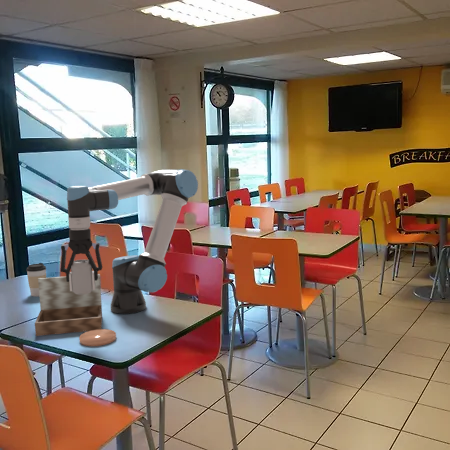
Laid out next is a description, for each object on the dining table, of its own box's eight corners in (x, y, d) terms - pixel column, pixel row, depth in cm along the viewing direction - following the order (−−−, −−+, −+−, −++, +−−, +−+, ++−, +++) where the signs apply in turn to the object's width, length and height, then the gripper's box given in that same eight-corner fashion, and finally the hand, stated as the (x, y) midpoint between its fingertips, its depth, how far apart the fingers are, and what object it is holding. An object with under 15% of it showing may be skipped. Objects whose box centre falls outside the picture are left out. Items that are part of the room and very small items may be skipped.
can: (97, 291, 188) (96, 260, 186) (81, 296, 182) (79, 263, 180) (84, 288, 192) (82, 257, 190) (68, 293, 186) (66, 261, 184)
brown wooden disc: (116, 331, 192) (115, 327, 192) (116, 344, 179) (116, 340, 179) (80, 334, 189) (80, 331, 189) (78, 347, 177) (78, 343, 176)
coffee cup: (36, 298, 238) (34, 267, 236) (24, 295, 243) (21, 265, 241) (52, 293, 246) (49, 263, 244) (40, 290, 251) (37, 261, 248)
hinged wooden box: (102, 316, 210) (99, 274, 208) (101, 329, 194) (98, 284, 191) (41, 321, 205) (38, 278, 203) (35, 336, 189) (31, 289, 186)
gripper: (48, 230, 178) (52, 293, 181) (107, 229, 181) (110, 290, 185) (52, 228, 186) (56, 288, 189) (108, 226, 189) (111, 285, 192)
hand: (82, 289), depth 187 cm, fingers closed on can, 7 cm apart
